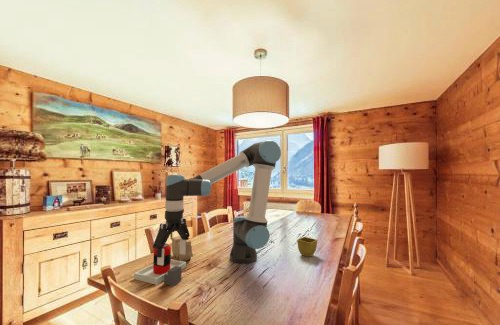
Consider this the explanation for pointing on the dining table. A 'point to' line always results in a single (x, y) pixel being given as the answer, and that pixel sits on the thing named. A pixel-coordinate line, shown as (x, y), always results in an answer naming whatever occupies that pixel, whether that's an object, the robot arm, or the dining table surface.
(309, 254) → the flower pot
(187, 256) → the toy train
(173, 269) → the dark grey block
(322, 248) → the dining table surface
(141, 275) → the tray
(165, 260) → the soda can
